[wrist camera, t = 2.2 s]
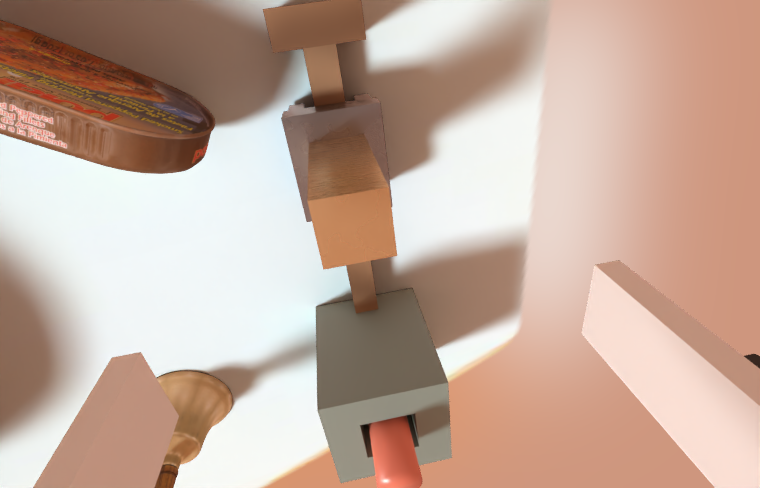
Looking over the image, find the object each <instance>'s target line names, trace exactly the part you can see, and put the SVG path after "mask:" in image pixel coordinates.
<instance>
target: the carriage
mask: <svg viewBox="0 0 760 488" xmlns="http://www.w3.org/2000/svg"><path fill="white" fill-rule="evenodd" d="M281 119H282V123H283V127H284V131H285V135H286V139H287V143H288V147H289V151H290V155H291V159H292V164H293V168H294V172H295V176H296V180H297V184H298V188H299V192H300V196H301V200H302V204H303V208H304V212H305V217H306V221H307V222H310V221H312V223H313V227H314V231H315V235H316V239H317V244H318V248H319V252H320V256H321V260H322V265H323V269H329V268H334V267H339V266H345V265H350V264H355V263H361V262H366V261H371V260H377V259H382V258H387V257H393V256H397V251H396V243H395V234H394V226H393V217H392V209H391V207H392V198H391V189H390V181H389V172H388V163H387V155H386V146H385V137H384V129H383V120H382V112H381V103H380V101H379V100H378V99H377V98H376V97H372V98H371V97H370V96H369V94H368V93H367V94H360V95H354V100H353V101H347V102H341V103H334V104H328V105H322V106H315V107H309V108H305V105H304V103H303V104H296V105H290V106H289V109H288V111H283V114H282V118H281Z"/></svg>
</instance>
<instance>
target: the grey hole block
mask: <svg viewBox="0 0 760 488" xmlns="http://www.w3.org/2000/svg"><path fill="white" fill-rule="evenodd" d="M376 297H377V303H378V309H376V310H371V311H366V312H361V313H356V311H355V306H354V301H353V300H348V301H343V302H338V303H333V304H327V305H322V306H317V307H316V347H317V405H318V413H319V416H320V419H321V423H322V426H323V429H324V432H325V435H326V438H327V441H328V445H329V448H330V451H331V454H332V457H333V460H334V463H335V466H336V469H337V473H338V476H339V479H340V482H341V483H344V482H348V481H352V480H357V479H361V478H365V477H370V476H374V475H376V474H375V467H374V460H373V453H372V446H371V439H370V432H369V425H368V423H373V422H378V421H382V420H387V419H391V418H396V417H401V416H405V415H407V419H408V423H409V427H410V431H411V435H412V439H413V443H414V448H415V452H416V456H417V460H418V464H419V465H423V464H427V463H432V462H436V461H441V460H445V459H449V458H452V453H451V433H450V411H449V390H448V381H447V378H446V375H445V373H444V370H443V368H442V365H441V362H440V360H439V357H438V354H437V352H436V349H435V347H434V344H433V341H432V339H431V336H430V333H429V331H428V328H427V326H426V323H425V320H424V318H423V315H422V312H421V310H420V307H419V304H418V302H417V299H416V297H415V294H414V291H413V289H412V288H410V289H405V290H400V291H394V292H389V293H384V294H379V295H376Z"/></svg>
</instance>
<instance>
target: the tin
mask: <svg viewBox="0 0 760 488" xmlns="http://www.w3.org/2000/svg"><path fill="white" fill-rule="evenodd" d="M214 126H215V119H214V117H213V115H212V114H211V113H210V111H209V110H208V109H207V108H206V107H205V106H204V105H202V104H201V103H200V102H199V101H197V100H196V99H194V98H193V97H191V96H189V95H188V94H186V93H184V92H182V91H180V90H178V89H176V88H173V87H172V86H169V85H167V84H165V83H162V82H160V81H157V80H155V79H152V78H150V77H147V76H145V75H142V74H140V73H137V72H134V71H132V70H129V69H127V68H125V67H122V66H119V65H117V64H114V63H112V62H109V61H107V60H104V59H101V58H99V57H96V56H94V55H91V54H89V53H86V52H84V51H81V50H79V49H77V48H74V47H72V46H69V45H66V44H64V43H61V42H59V41H56V40H54V39H51V38H49V37H46V36H44V35H41V34H39V33H36V32H33V31H31V30H28V29H25V28H23V27H20V26H17V25H14V24H11V23H8V22H4V21H1V20H0V134H4V135H6V136H10V137H13V138H16V139H20V140H23V141H26V142H29V143H32V144H36V145H39V146H42V147H45V148H49V149H52V150H55V151H58V152H62V153H65V154H68V155H72V156H75V157H78V158H81V159H84V160H87V161H91V162H94V163H97V164H100V165H104V166H108V167H112V168H116V169H121V170H126V171H132V172H140V173H156V174H163V173H175V172H181V171H185V170H188V169H190V168H192V167H193V166H194V165H196V164H197V163H199V162H200V161H201V160H202V159H203V158H204V156H205V153H206V150H207V146H208V142H209V138H210V134H211V131H212V130H213V129H214Z"/></svg>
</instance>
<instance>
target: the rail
mask: <svg viewBox="0 0 760 488" xmlns="http://www.w3.org/2000/svg"><path fill="white" fill-rule="evenodd" d="M263 12H264V16H265V20H266V25H267V29H268V33H269V37H270V42H271V46H272V50H273V53H277V52H284V51H290V50H297V49H303V51H304V56H305V61H306V66H307V71H308V76H309V81H310V86H311V91H312V96H313V101H314V106H322V105H328V104H334V103H341V102H345V97H344V91H343V85H342V78H341V72H340V66H339V60H338V53H337V47H336V44H338V43H345V42H352V41H359V40H366V35H365V27H364V19H363V11H362V2H361V0H326V1H319V2H312V3H304V4H297V5H290V6H283V7H275V8H268V9H263ZM346 266H347V271H348V276H349V281H350V286H351V291H352V296H353V301H354V306H355V311H356V313H361V312H366V311H371V310H376V309H378V303H377V297H376V291H375V285H374V278H373V272H372V266H371V261H366V262H361V263H355V264H350V265H346Z"/></svg>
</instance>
